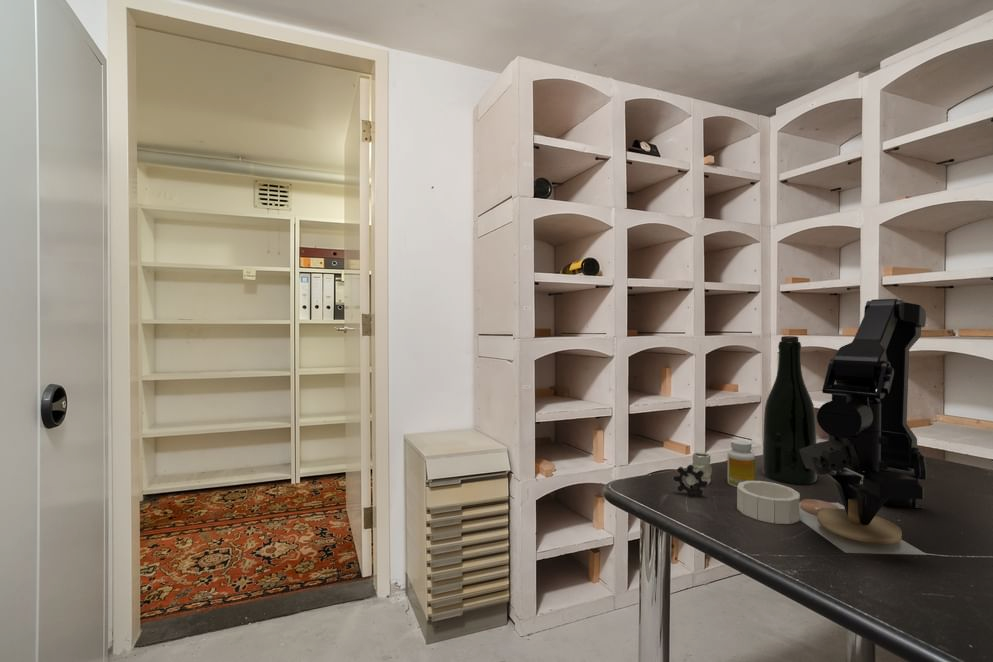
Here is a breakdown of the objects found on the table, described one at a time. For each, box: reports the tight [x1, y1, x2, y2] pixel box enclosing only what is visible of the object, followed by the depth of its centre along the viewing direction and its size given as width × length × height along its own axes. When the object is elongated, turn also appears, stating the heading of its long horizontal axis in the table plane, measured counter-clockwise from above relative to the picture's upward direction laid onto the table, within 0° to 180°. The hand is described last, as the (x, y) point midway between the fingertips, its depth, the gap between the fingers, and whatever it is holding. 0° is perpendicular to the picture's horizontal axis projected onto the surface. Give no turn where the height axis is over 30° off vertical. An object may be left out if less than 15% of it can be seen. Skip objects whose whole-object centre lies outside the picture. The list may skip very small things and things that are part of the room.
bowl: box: [736, 480, 801, 525], centre depth 86 cm, size 10×10×4 cm
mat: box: [799, 501, 928, 556], centre depth 80 cm, size 12×20×1 cm, turn 176°
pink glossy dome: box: [800, 498, 839, 516], centre depth 86 cm, size 6×6×1 cm
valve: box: [673, 452, 713, 498], centre depth 99 cm, size 7×7×12 cm
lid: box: [818, 498, 903, 544], centre depth 76 cm, size 11×11×4 cm
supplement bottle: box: [726, 439, 756, 488], centre depth 100 cm, size 5×5×10 cm
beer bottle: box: [762, 335, 818, 486], centre depth 104 cm, size 10×10×33 cm
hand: (857, 520), depth 76 cm, fingers closed on lid, 3 cm apart
